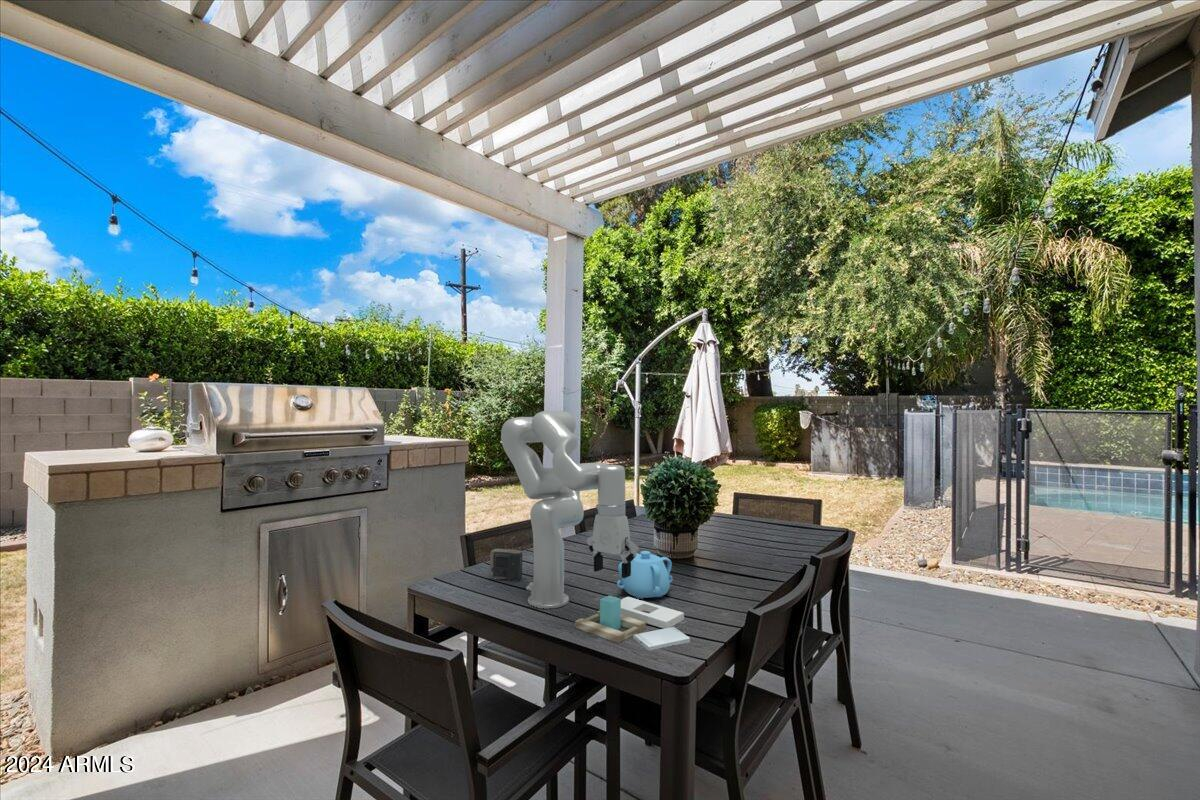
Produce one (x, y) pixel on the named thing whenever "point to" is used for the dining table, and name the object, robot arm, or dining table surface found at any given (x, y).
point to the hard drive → (661, 638)
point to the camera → (506, 564)
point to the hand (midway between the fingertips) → (612, 573)
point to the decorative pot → (647, 576)
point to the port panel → (657, 616)
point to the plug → (610, 612)
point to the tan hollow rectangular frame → (609, 633)
